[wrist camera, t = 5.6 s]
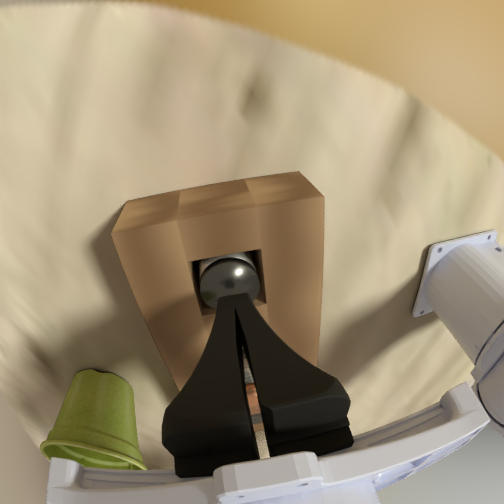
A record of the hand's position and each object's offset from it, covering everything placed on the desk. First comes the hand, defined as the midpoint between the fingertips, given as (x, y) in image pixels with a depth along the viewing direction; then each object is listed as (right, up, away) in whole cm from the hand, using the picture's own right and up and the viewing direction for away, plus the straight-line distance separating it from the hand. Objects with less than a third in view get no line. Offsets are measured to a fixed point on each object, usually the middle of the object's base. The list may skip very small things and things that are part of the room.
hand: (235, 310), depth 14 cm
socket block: (0, -3, +9) cm, 9 cm away
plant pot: (-14, -10, +11) cm, 20 cm away
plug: (-1, +3, +4) cm, 5 cm away
